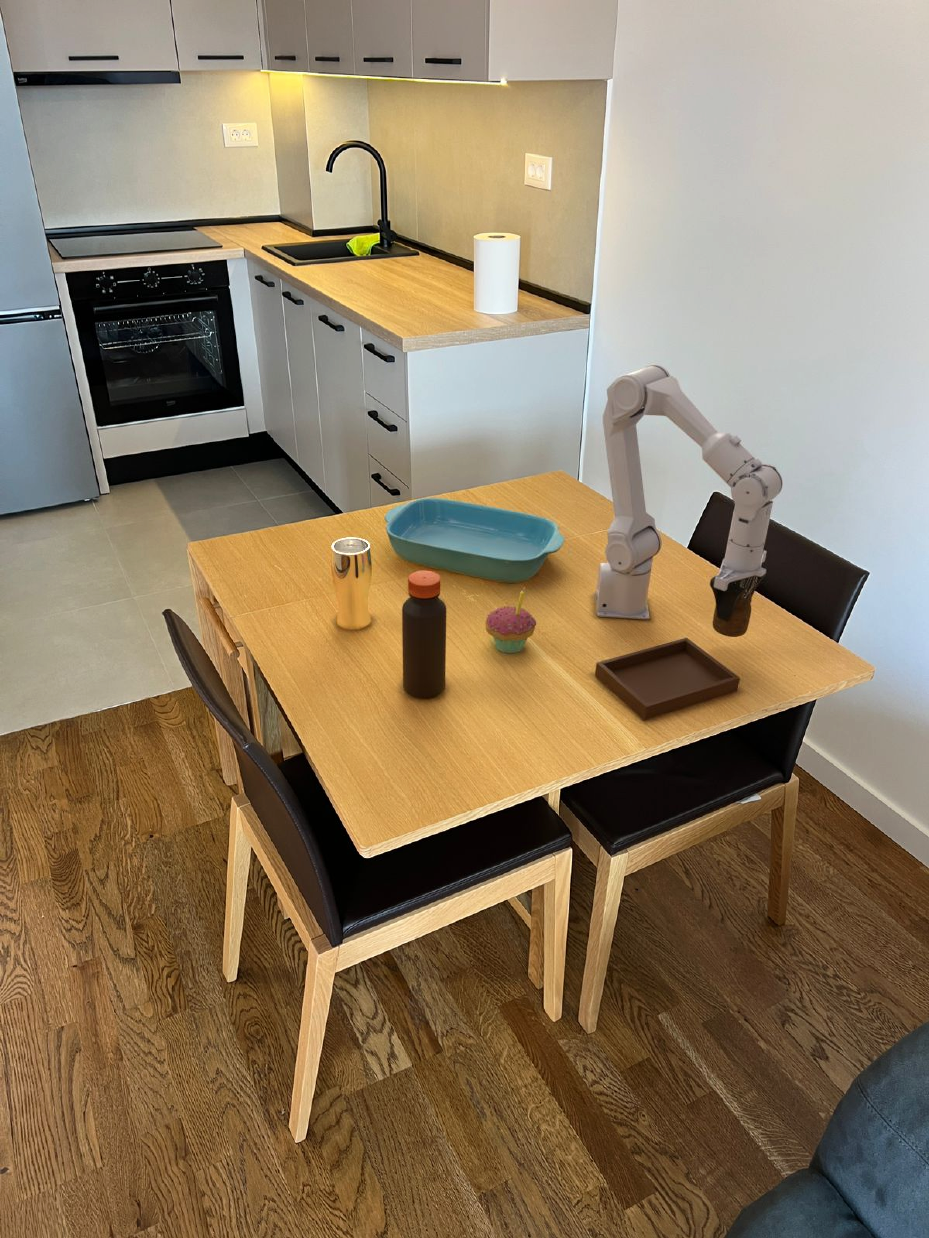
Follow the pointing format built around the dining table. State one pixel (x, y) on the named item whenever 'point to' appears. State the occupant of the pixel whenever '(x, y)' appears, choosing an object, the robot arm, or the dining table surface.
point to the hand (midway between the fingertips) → (732, 611)
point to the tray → (666, 678)
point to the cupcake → (510, 627)
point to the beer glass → (352, 581)
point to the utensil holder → (736, 617)
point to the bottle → (424, 636)
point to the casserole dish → (472, 538)
